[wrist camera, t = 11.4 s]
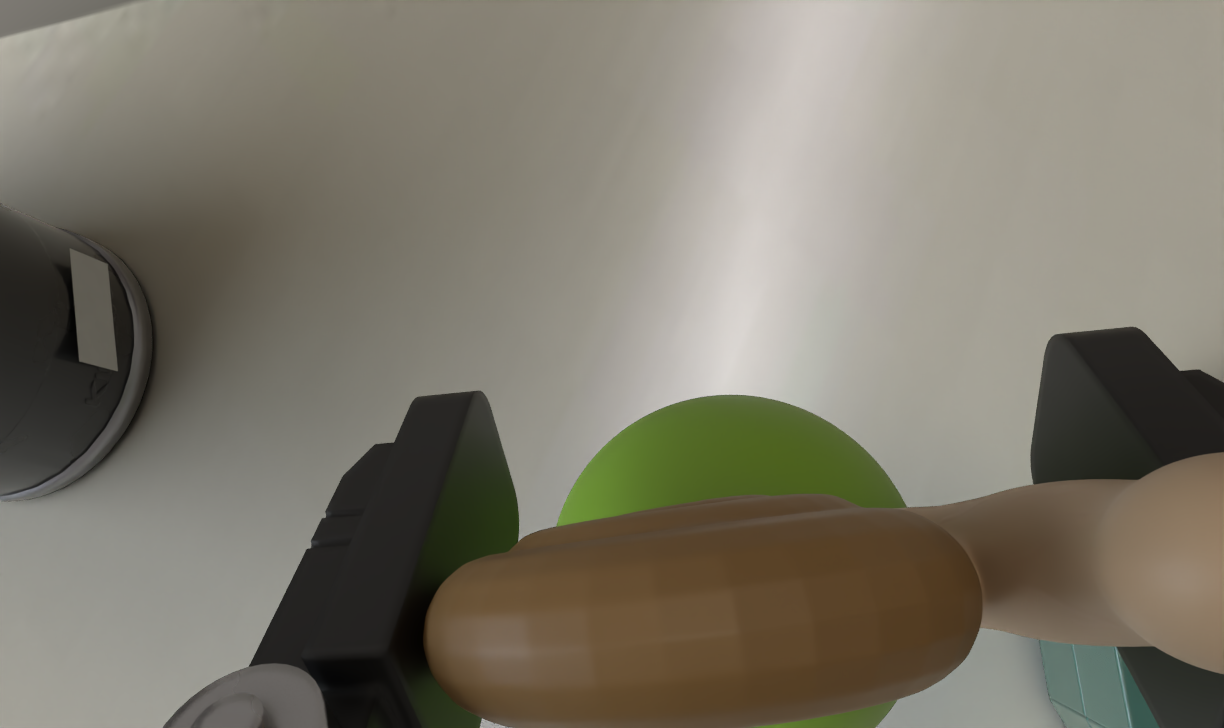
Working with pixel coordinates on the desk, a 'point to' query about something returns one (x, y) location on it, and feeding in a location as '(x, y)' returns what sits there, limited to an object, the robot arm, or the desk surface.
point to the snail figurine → (807, 580)
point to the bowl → (1093, 687)
